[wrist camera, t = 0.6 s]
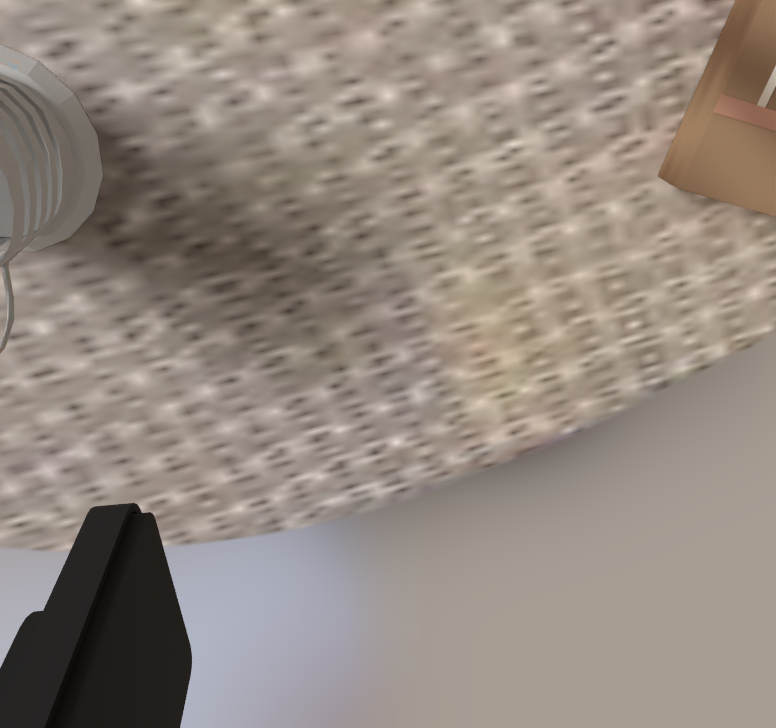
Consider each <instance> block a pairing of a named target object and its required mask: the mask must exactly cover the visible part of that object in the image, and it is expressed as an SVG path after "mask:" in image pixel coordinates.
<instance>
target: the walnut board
mask: <svg viewBox="0 0 776 728" xmlns="http://www.w3.org/2000/svg"><path fill="white" fill-rule="evenodd" d="M658 177H660V178H661V179H663V180H665V181H666V182H668V183H670V184H672V185H673V186H675V187H677V188H678V189H681V190H685V191H688V192H692V193H695V194H699V195H702V196H706V197H709V198H713V199H716V200H720V201H723V202H727V203H730V204H734V205H737V206H741V207H744V208H748V209H751V210H755V211H758V212H762V213H765V214H769V215H772V216H776V0H736V1H735V3H734V5H733V7H732V10H731V12H730V14H729V16H728V19H727V21H726V23H725V26H724V28H723V30H722V32H721V35H720V37H719V39H718V41H717V44H716V46H715V48H714V50H713V53H712V55H711V57H710V59H709V62H708V64H707V66H706V68H705V71H704V73H703V75H702V77H701V80H700V82H699V84H698V86H697V89H696V91H695V93H694V95H693V98H692V100H691V102H690V104H689V107H688V109H687V111H686V113H685V116H684V118H683V120H682V122H681V125H680V127H679V129H678V131H677V134H676V136H675V138H674V140H673V143H672V145H671V147H670V150H669V152H668V154H667V156H666V159H665V161H664V163H663V165H662V168H661V170H660V172H659V174H658Z"/></svg>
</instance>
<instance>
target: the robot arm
mask: <svg viewBox="0 0 776 728" xmlns="http://www.w3.org/2000/svg"><path fill="white" fill-rule="evenodd" d="M191 667H192V654H191V648H190V642H189V639H188V635H187V632H186V628H185V624H184V621H183V617H182V614H181V610H180V606H179V603H178V599H177V596H176V592H175V588H174V585H173V581H172V577H171V574H170V570H169V567H168V563H167V560H166V556H165V553H164V549H163V545H162V541H161V538H160V534H159V531H158V527H157V523H156V520H155V517H154V515H153V514H152V513H150V512H148V513H142V512H141V510H140V508H139V506H138V505H137V504H135V503H129V504H118V505H107V506H96V507H93V508H91V509H90V511H89V512H88V514H87V516H86V518H85V520H84V522H83V525H82V527H81V529H80V531H79V533H78V536H77V538H76V540H75V542H74V544H73V547H72V549H71V551H70V553H69V555H68V558H67V560H66V562H65V564H64V566H63V569H62V571H61V573H60V575H59V577H58V580H57V582H56V584H55V586H54V588H53V591H52V593H51V595H50V597H49V600H48V601H47V604H46V606H45V608H44V611H37V612H33V613H31V614H30V615H29V616H28V617H26V619H25V620H24V622H23V623H22V625H21V627H20V628H19V631H18V632H17V635H16V637H15V639H14V641H13V643H12V645H11V647H10V649H9V651H8V653H7V655H6V658H5V660H4V662H3V664H2V666H1V668H0V728H180V724H181V720H182V715H183V710H184V705H185V700H186V695H187V690H188V685H189V680H190V675H191Z"/></svg>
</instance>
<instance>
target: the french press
mask: <svg viewBox="0 0 776 728" xmlns="http://www.w3.org/2000/svg"><path fill="white" fill-rule="evenodd" d="M102 179H103V170H102V163H101V156H100V149H99V143H98V136H97V133H96V131H95V129H94V127H93V126H92V124H91V122H90V120H89V118H88V117H87V115H86V113H85V111H84V109H83V108H82V106H81V104H80V102H79V100H78V99H77V97H76V95H75V93H73V92H72V91H71V90H70V89H69V88H68V87H67V86H66V85H65V84H63V83H62V82H61V81H60V80H59V79H58V78H57V77H56V76H55V75H54V74H52V73H51V72H50V71H49V70H48V69H47V68H46V67H45V66H44V65H43V64H41V63H40V62H39V61H38V60H35V59H33V58H31V57H28V56H26V55H24V54H21V53H19V52H17V51H14V50H12V49H10V48H7V47H5V46H3V45H0V251H7V252H5V253H4V254H3V255H2V256H1V257H0V267H1V266H2V272H3V278H4V285H5V291H6V298H7V323H6V328H5V333H4V335H3V337H2V339H1V341H0V353H1V352H2V351H3V350H4V348H5V347H6V344H7V340H8V337H9V334H10V331H11V327H12V324H13V321H14V296H13V290H12V285H11V279H10V273H9V268H8V265H9V262H10V261H11V260H12V259H13V258H14V257H15V256H16V255H17V254H18V253H19V252H20V251H23V252H36V251H38V250H41V249H43V248H46V247H48V246H51V245H53V244H56V243H58V242H61V241H63V240H66V239H68V238H70V237H71V236H72V235H73V234H74V232H75V231H76V230H77V229H78V228H79V227H80V226H81V225H82V224H83V222H84V221H85V220H86V219H87V218H88V217H89V216H90V215H91V214H92V212H93V211H94V207H95V204H96V200H97V197H98V193H99V189H100V186H101V182H102Z"/></svg>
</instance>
